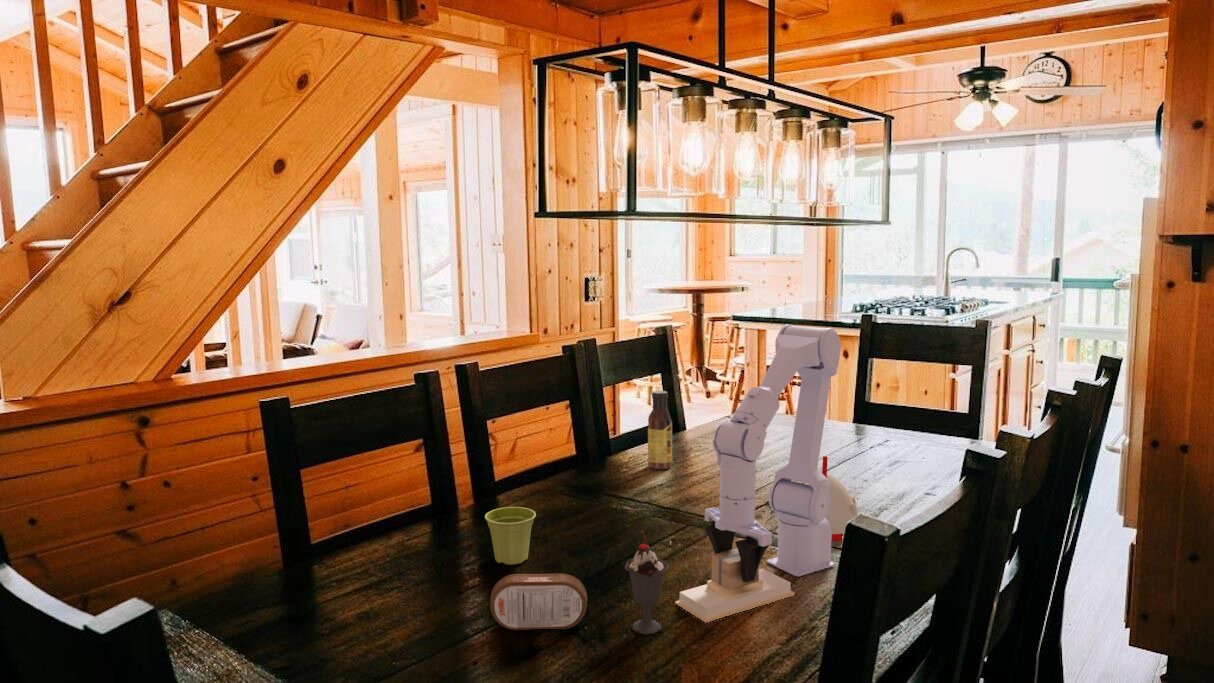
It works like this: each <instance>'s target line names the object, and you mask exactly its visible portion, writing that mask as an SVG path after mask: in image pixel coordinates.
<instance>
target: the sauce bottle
mask: <svg viewBox="0 0 1214 683" xmlns="http://www.w3.org/2000/svg"><path fill="white" fill-rule="evenodd" d="M651 398H652V406H651V407H652V410H651V412H650V413H649V415H648V420H647V421H648V422H647V424H648V427H647V457H648V458H647V461H648V467H649V468H650V469H652V470H667V469H670V468H671V467H672V462H673V420H672V418H671V415H670V411H669V409H668V398H669V395H668V391H665V390H654V391H652V392H651Z"/></svg>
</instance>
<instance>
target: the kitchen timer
mask: <svg viewBox="0 0 1214 683" xmlns="http://www.w3.org/2000/svg"><path fill="white" fill-rule="evenodd" d="M821 473H822V474H823V475H824V476H825V477H826V478H827V479H828V480H829V482H830V509H829V512H828V514H827V516H826V519H827V521H828V522H829V524H830V527H831V533H832V536H831V541H834V542H833V543H835V542H836V543H837V541H839V542H843V541H842V536H843V532H844V528H845V525H846V523H847V522H848V521H849V520H851V519H852V518H854V517H855V516H857V515H858V516H859V514H858V507H857V503H856V502H857V501H856V497H855V495H851V494H850V492H849V491H848V489H847V487H846V486H845V484H843V482H842V481H841V480H840V479H838V478H837V477H835V476H834V475H833V474H830V473H828V456H824V455H823V456H822V468H821ZM803 484H806V485H810V484H808V483H805V482H803ZM810 486H811V485H810ZM858 516H857V517H858Z"/></svg>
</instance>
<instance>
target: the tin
mask: <svg viewBox="0 0 1214 683" xmlns="http://www.w3.org/2000/svg"><path fill="white" fill-rule="evenodd" d="M587 603H588V593H587V590H586V587H585V586H584V584H583V582H581V581H580V580H579V579H578V578H576V577H575V576H573V575H570V574H566V573H514V574H509V575H507V576H504V577H503V578H501V579H500V580H498V581H497V583H495V585H494V586H493V588H492V591H491V593H490V603H489V604H490V611H491V615H492V617H493V619H494V620H495V621H496V622H497V623H498V624H499V625H500V626H501V627H503V628H505V629H508V630H512V631H535V630H534V629H562V630H568V629H571V628H573V627H575V626H577V624H578V623H580V622H581V621H582V620H583V618H584V616H585V615H586V611H587V607H588V604H587ZM567 628H568V629H567ZM531 629H533V630H531Z"/></svg>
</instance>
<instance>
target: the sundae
mask: <svg viewBox="0 0 1214 683" xmlns="http://www.w3.org/2000/svg"><path fill="white" fill-rule="evenodd" d="M640 533H641V534H642V535H643V542H642V543H641V544H640V545H639V549H638V550H637V552H635V554H634V557H633V558H631V559H627V561H626V563H625V565H624V570H626V571H627V572H628V573H629V576H630V581H631V590H632V595H633V599H634V601H635V602H636V603H637V605H639V606H640V607H641V608H642V617H641V619H639V621H638V620H636V621H637V622H636V621H634V622H633V623H634V624H633V627H632V628H633V629H636V631H639V632H640V633H644V634H649V633H655V632H657V630H659V629H661V625H662V624H661V623H660V622H659V621H657V620H654V619H652V615H651V612H652V610H651V608H652V607H654V606H655V605H656V603H658V602H659V601H660V598H661V593H662V589H663V588H662V586H663V579H664V574H665V572H666V571H667V570H669V568H670V567H669V565H668V563H667V562H666V561H665V560H663V559H661V558H659V557H657V554H656V553H655V551H654V550H653V549H651V548H650V545H648V541H647V537H646V536H645V534H644V533H645V532H644V530H641V532H640ZM656 621H657V622H656ZM658 622H659V623H660V624H661V625H660V624H659V623H658Z"/></svg>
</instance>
